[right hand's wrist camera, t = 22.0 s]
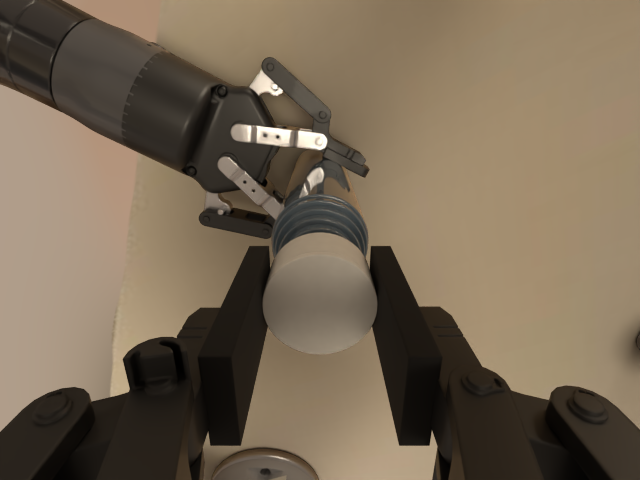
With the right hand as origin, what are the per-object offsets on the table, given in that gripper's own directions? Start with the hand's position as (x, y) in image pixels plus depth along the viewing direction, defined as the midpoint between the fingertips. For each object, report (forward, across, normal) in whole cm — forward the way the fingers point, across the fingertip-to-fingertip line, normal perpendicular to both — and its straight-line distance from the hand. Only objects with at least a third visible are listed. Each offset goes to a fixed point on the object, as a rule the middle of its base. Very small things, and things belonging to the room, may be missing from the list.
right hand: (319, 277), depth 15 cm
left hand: (+16, -2, +1) cm, 16 cm away
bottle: (+23, 0, 0) cm, 23 cm away
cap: (-2, 0, 0) cm, 2 cm away
